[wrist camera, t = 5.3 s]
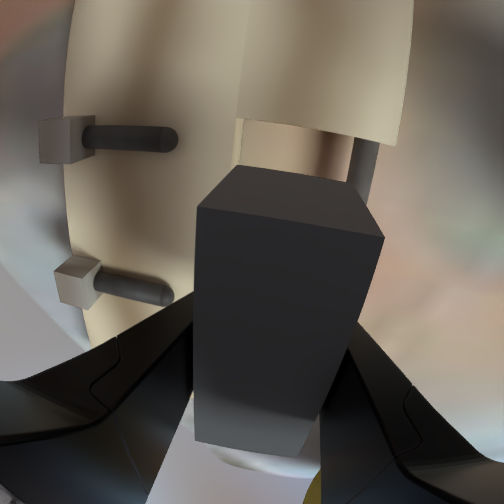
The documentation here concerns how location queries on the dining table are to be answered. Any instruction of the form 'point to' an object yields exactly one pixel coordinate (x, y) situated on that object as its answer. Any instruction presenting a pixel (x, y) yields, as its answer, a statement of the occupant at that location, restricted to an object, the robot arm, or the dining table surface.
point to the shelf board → (200, 124)
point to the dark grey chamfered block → (275, 303)
